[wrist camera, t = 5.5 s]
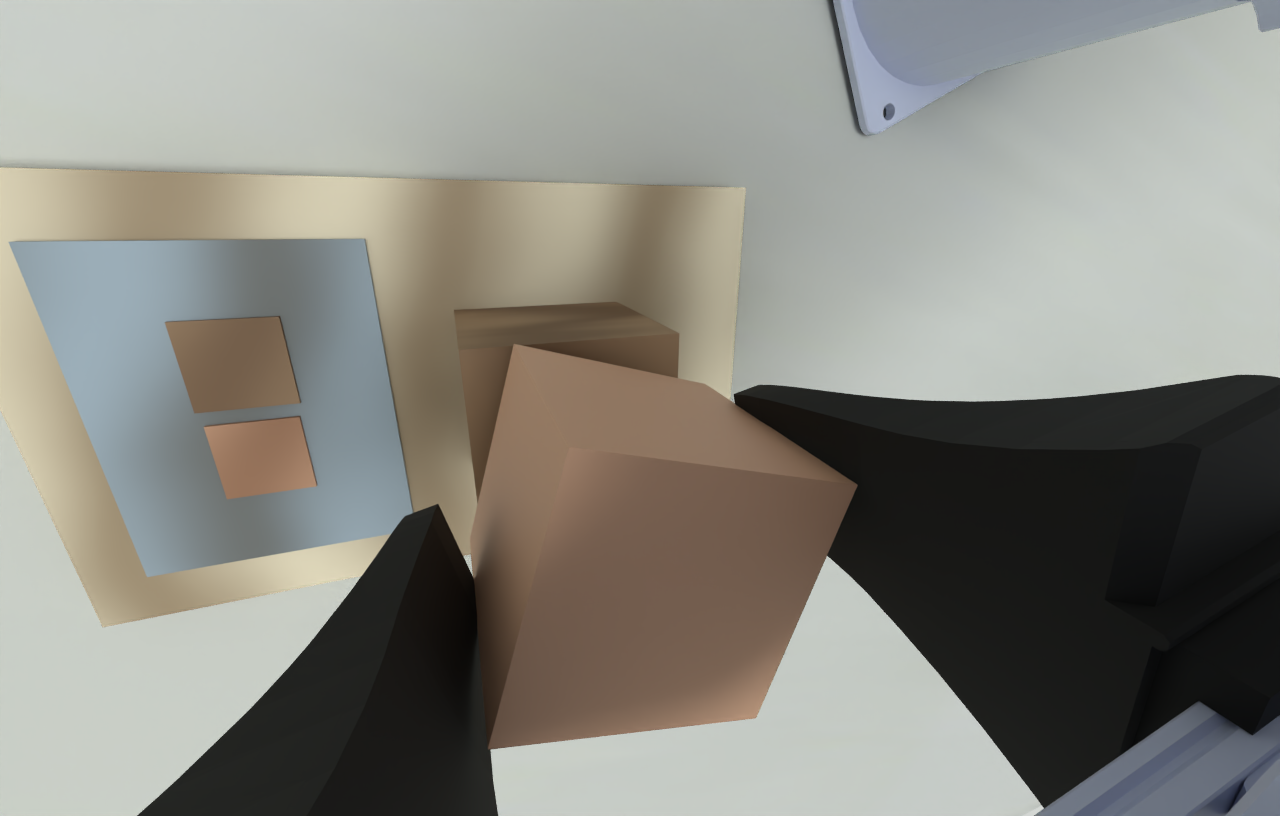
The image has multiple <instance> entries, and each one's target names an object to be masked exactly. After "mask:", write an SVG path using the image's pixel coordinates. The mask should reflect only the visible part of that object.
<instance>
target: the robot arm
mask: <svg viewBox="0 0 1280 816" xmlns="http://www.w3.org/2000/svg"><path fill="white" fill-rule="evenodd" d="M1248 2H1252V4H1253V6H1254V9H1255V12H1256V15H1257V21H1258V28H1259V30H1260V31H1261V32H1265V31H1269V30H1274V29H1278V28H1280V0H833V3H834V8H835V13H836V17H837V22H838V27H839V31H840V36H841V41H842V45H843V50H844V55H845V59H846V64H847V69H848V74H849V78H850V83H851V88H852V92H853V97H854V102H855V106H856V111H857V116H858V120H859V125H860V128H861V131H862V132H863V133H864V134H865V135H875V134H878V133H881V132H882V131H884V130H886V129H887V128H889V127H891V126H893V125H894V124H896V123H898V122H899V121H901V120H903V119H904V118H906V117H908V116H910V115H911V114H913V113H915V112H916V111H918V110H920V109H921V108H923V107H925V106H927V105H928V104H930V103H932V102H933V101H935V100H937V99H938V98H940V97H942V96H944V95H945V94H947V93H949V92H950V91H952V90H954V89H955V88H957V87H959V86H961V85H962V84H964V83H966V82H967V81H969V80H971V79H972V78H974V77H976V76H978V75H979V74H981V73H983V72H985V71H989V70H993V69H997V68H1001V67H1004V66H1008V65H1012V64H1016V63H1020V62H1023V61H1027V60H1031V59H1035V58H1039V57H1043V56H1046V55H1050V54H1054V53H1058V52H1062V51H1065V50H1069V49H1073V48H1077V47H1081V46H1084V45H1088V44H1092V43H1096V42H1100V41H1103V40H1107V39H1111V38H1115V37H1119V36H1122V35H1126V34H1130V33H1134V32H1138V31H1141V30H1145V29H1149V28H1153V27H1157V26H1160V25H1164V24H1168V23H1172V22H1176V21H1179V20H1183V19H1187V18H1191V17H1195V16H1198V15H1202V14H1206V13H1210V12H1214V11H1217V10H1221V9H1225V8H1229V7H1233V6H1237V5H1240V4H1244V3H1248ZM884 107H885V108H886V117H885V118H884V116H883V110H884ZM734 399H735V405H737V406H738V407H740V408H741V409H743V410H744V411H746V412H747V413H749V414H750V415H752V416H753V417H755V418H756V419H758V420H759V421H761V422H763V423H764V424H766V425H768V426H769V427H771V428H772V429H774V430H775V431H777V432H779V433H780V434H782V435H783V436H785V437H786V438H788V439H789V440H791V441H792V442H794V443H795V444H797V445H798V446H800V447H801V448H803V449H804V450H806V451H807V452H809V453H810V454H812V455H813V456H815V457H816V458H818V459H819V460H821V461H822V462H824V463H825V464H827V465H828V466H830V467H831V468H833V469H834V470H836V471H837V472H839V473H840V474H842V475H843V476H845V477H846V478H848V479H849V480H851V481H852V482H854V483H855V484H857V485H858V486H857V488H856V490H855V492H854V495H853V497H852V499H851V502H850V504H849V506H848V508H847V511H846V513H845V515H844V518H843V520H842V522H841V524H840V527H839V529H838V531H837V534H836V536H835V538H834V541H833V543H832V545H831V547H830V550H829V552H828V554H827V556H828V557H829V558H831V559H832V560H833V561H834V562H835V563H836V564H837V565H838V566H840V567H841V568H842V569H843V570H844V571H845V572H846V573H847V574H848V575H850V576H851V577H852V578H853V579H854V580H855V581H856V582H857V583H858V584H859V585H860V586H861V587H862V588H863V589H864V590H865V591H866V592H867V593H868V594H869V595H870V596H871V598H872V599H873V600H874V601H875V602H876V603H877V604H878V605H879V606H880V607H881V608H882V610H883V611H884V612H885V613H886V614H887V615H888V616H889V617H890V618H891V619H892V621H893V622H894V623H895V624H896V625H897V626H898V627H899V628H900V629H901V630H902V632H903V633H904V634H905V635H906V636H907V637H908V639H909V640H910V641H911V642H912V643H913V644H914V646H915V647H916V648H917V649H918V650H919V651H920V652H921V654H922V655H923V656H924V657H925V658H926V659H927V661H928V662H929V663H930V664H931V665H932V666H933V668H934V669H935V670H936V671H937V672H938V673H939V674H940V676H941V677H942V678H943V679H944V681H945V682H946V683H947V684H948V686H949V687H950V688H951V689H952V690H953V692H954V693H955V694H956V695H957V697H958V698H959V699H960V700H961V702H962V703H963V704H964V705H965V706H966V708H967V709H968V710H969V711H970V713H971V714H972V715H973V716H974V717H975V719H976V720H977V721H978V722H979V724H980V725H981V726H982V727H983V729H984V730H985V731H986V732H987V734H988V735H989V736H990V738H991V739H992V740H993V742H994V743H995V744H996V745H997V747H998V748H999V749H1000V751H1001V752H1002V753H1003V755H1004V756H1005V757H1006V759H1007V760H1008V761H1009V762H1010V764H1011V765H1012V766H1013V768H1014V769H1015V770H1016V772H1017V773H1018V774H1019V775H1020V777H1021V778H1022V779H1023V781H1024V782H1025V783H1026V785H1027V786H1028V787H1029V789H1030V790H1031V791H1032V792H1033V794H1034V795H1035V797H1036V798H1037V799H1038V801H1039V802H1040V803H1041V805H1042V806H1043V807H1044V809H1043V810H1042V811H1040V812H1039V813H1037V814H1036V815H1034V816H1280V378H1278V377H1272V376H1263V375H1233V376H1227V377H1220V378H1214V379H1207V380H1201V381H1194V382H1188V383H1181V384H1175V385H1168V386H1162V387H1155V388H1149V389H1142V390H1134V391H1126V392H1116V393H1107V394H1097V395H1088V396H1078V397H1065V398H1053V399H1037V400H1014V401H983V402H964V401H923V400H906V399H894V398H882V397H871V396H862V395H853V394H844V393H836V392H828V391H821V390H813V389H805V388H797V387H788V386H777V385H757V386H755V387H752V388H749V389H747V390H744V391H741V392H738V393H736V394H734ZM137 816H498V812H497V805H496V798H495V791H494V784H493V775H492V764H491V752H490V749H489V750H488V747H487V735H486V723H485V712H484V700H483V688H482V676H481V665H480V653H479V641H478V629H477V609H476V597H475V586H474V578H473V576H472V574H471V572H470V570H469V568H468V566H467V563H466V561H465V559H464V557H463V555H462V553H461V551H460V549H459V547H458V544H457V542H456V540H455V538H454V536H453V534H452V532H451V530H450V527H449V525H448V523H447V521H446V519H445V517H444V515H443V513H442V510H441V508H440V506H439V504H436V505H433V506H431V507H428V508H425V509H422V510H420V511H417V512H414V513H412V514H409V515H406V516H404V518H403V519H402V520H401V521H400V523H399V524H398V525H397V527H396V528H395V529H394V531H393V532H392V534H391V535H390V536H389V538H388V539H387V541H386V542H385V544H384V545H383V547H382V548H381V549H380V551H379V552H378V554H377V555H376V557H375V558H374V559H373V561H372V562H371V564H370V565H369V566H368V568H367V569H366V571H365V572H364V574H363V575H362V576H361V578H360V579H359V581H358V582H357V583H356V585H355V586H354V588H353V589H352V590H351V592H350V593H349V594H348V595H347V597H346V598H345V599H344V601H343V602H342V603H341V604H340V606H339V607H338V608H337V609H336V611H335V612H334V613H333V615H332V616H331V617H330V618H329V620H328V621H327V622H326V624H325V625H324V626H323V627H322V629H321V630H320V631H319V632H318V634H317V635H316V636H315V638H314V639H313V640H312V641H311V642H310V644H309V645H308V646H307V647H306V648H305V650H304V651H303V652H302V653H301V654H300V655H299V656H298V658H297V659H296V660H295V661H294V662H293V663H292V664H291V666H290V667H289V668H288V669H287V670H286V671H285V672H284V673H283V674H282V676H281V677H280V678H279V679H278V680H277V681H276V682H275V683H274V684H273V685H272V686H271V687H270V688H269V690H268V691H267V692H266V693H265V694H264V695H263V696H262V697H261V698H260V699H259V700H258V701H257V702H256V703H255V704H254V706H253V707H252V708H251V709H250V710H249V711H248V712H247V713H246V714H245V715H244V716H243V717H242V718H241V719H240V720H239V721H238V722H236V723H235V724H234V725H233V726H232V727H231V728H230V729H229V730H228V731H227V732H226V733H225V734H224V735H223V736H222V737H221V738H220V739H219V740H218V741H217V742H216V743H215V744H214V745H213V746H212V747H211V748H210V749H209V750H207V751H206V752H205V753H204V754H203V755H202V756H201V757H200V758H199V759H198V760H197V761H196V762H195V763H194V764H193V765H192V766H191V767H190V768H189V769H188V770H187V771H186V772H185V773H184V774H183V775H182V776H181V777H180V778H179V779H177V780H176V781H175V782H174V783H173V784H172V785H171V786H170V787H169V788H168V789H167V790H165V791H164V792H163V793H162V794H161V795H160V796H159V797H158V798H157V799H155V800H154V801H153V802H152V803H151V804H150V805H149V806H148V807H146V808H145V809H144V810H143V811H142V812H141V813H140V814H139V815H137Z"/></svg>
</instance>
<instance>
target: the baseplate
mask: <svg viewBox="0 0 1280 816" xmlns="http://www.w3.org/2000/svg"><path fill="white" fill-rule="evenodd" d="M745 194H746V188H737V187H700V186H663V185H627V184H590V183H553V182H516V181H480V180H443V179H406V178H370V177H333V176H296V175H260V174H223V173H186V172H150V171H113V170H76V169H40V168H3V167H0V410H1V412H2V415H3V417H4V419H5V421H6V423H7V425H8V427H9V429H10V432H11V434H12V436H13V438H14V440H15V442H16V444H17V446H18V448H19V451H20V453H21V455H22V457H23V459H24V461H25V463H26V465H27V468H28V470H29V472H30V474H31V476H32V478H33V480H34V482H35V485H36V487H37V489H38V491H39V493H40V495H41V497H42V499H43V501H44V504H45V506H46V508H47V510H48V512H49V514H50V516H51V518H52V521H53V523H54V525H55V527H56V529H57V531H58V533H59V535H60V538H61V540H62V542H63V544H64V546H65V548H66V550H67V552H68V554H69V557H70V559H71V561H72V563H73V565H74V567H75V569H76V571H77V574H78V576H79V578H80V580H81V582H82V584H83V586H84V588H85V591H86V593H87V595H88V597H89V599H90V601H91V603H92V605H93V607H94V610H95V612H96V614H97V616H98V618H99V620H100V622H101V624H102V627H107V626H112V625H117V624H122V623H127V622H132V621H137V620H142V619H147V618H152V617H157V616H162V615H167V614H172V613H177V612H182V611H187V610H192V609H197V608H202V607H207V606H212V605H218V604H223V603H228V602H233V601H238V600H243V599H248V598H253V597H258V596H263V595H268V594H273V593H278V592H283V591H288V590H293V589H298V588H303V587H308V586H313V585H318V584H323V583H328V582H333V581H338V580H343V579H348V578H353V577H358V576H362V575H363V574H364V572H365V571H366V569H367V568H368V566H369V565H370V564H371V562H372V561H373V559H374V558H375V557H376V555H377V554H378V552H379V551H380V549H381V548H382V547H383V545H384V544H385V542H386V541H387V539H388V538H389V536H390V535H391V534H392V532H393V531H394V529H395V528H396V527H397V525H398V524H399V523H400V521H401V520H402V519H403V518H404V516H406V515H409V514H412V513H414V512H417V511H420V510H422V509H425V508H428V507H431V506H433V505H436V504H439V506H440V508H441V510H442V513H443V515H444V517H445V519H446V521H447V523H448V525H449V527H450V530H451V532H452V534H453V536H454V538H455V540H456V542H457V544H458V547H459V549H460V551H461V553H462V555H463V556H464V555H469V554H471V547H470V536H471V531H472V527H473V522H474V518H475V513H476V509H477V505H478V500H479V496H480V491H481V487H482V482H483V478H484V474H485V469H486V465H487V460H488V456H489V451H490V447H491V443H492V438H493V434H494V429H495V425H496V420H497V416H498V412H499V407H500V403H501V398H502V394H503V389H504V385H505V381H506V376H507V372H508V367H509V363H510V358H511V354H512V350H513V345H514V344H517V345H522V346H527V347H532V348H536V349H541V350H546V351H551V352H555V353H560V354H565V355H570V356H575V357H579V358H584V359H589V360H594V361H598V362H603V363H608V364H613V365H617V366H622V367H627V368H632V369H636V370H641V371H646V372H651V373H655V374H660V375H665V376H670V377H675V378H679V379H684V380H689V381H694V382H698V383H703V384H706V385H708V386H709V387H711V388H712V389H714V390H715V391H717V392H718V393H720V394H721V395H723V396H724V397H726V398H727V399H729V400H730V398H731V384H732V370H733V357H734V343H735V330H736V316H737V303H738V289H739V275H740V262H741V248H742V235H743V221H744V208H745Z"/></svg>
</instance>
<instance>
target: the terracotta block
mask: <svg viewBox="0 0 1280 816" xmlns="http://www.w3.org/2000/svg"><path fill="white" fill-rule="evenodd" d="M857 486H858V485H857V484H855V483H854V482H852V481H851V480H849V479H848V478H846V477H845V476H843V475H842V474H840V473H839V472H837V471H836V470H834V469H833V468H831V467H830V466H828V465H827V464H825V463H824V462H822V461H821V460H819V459H818V458H816V457H815V456H813V455H812V454H810V453H809V452H807V451H806V450H804V449H803V448H801V447H800V446H798V445H797V444H795V443H794V442H792V441H791V440H789V439H788V438H786V437H785V436H783V435H782V434H780V433H779V432H777V431H775V430H774V429H772V428H771V427H769V426H768V425H766V424H764V423H763V422H761V421H759V420H758V419H756V418H755V417H753V416H752V415H750V414H749V413H747V412H746V411H744V410H743V409H741V408H740V407H738V406H737V405H735V403H733V402H732V401H730V400H729V399H727V398H726V397H724V396H723V395H721V394H720V393H718V392H717V391H715V390H714V389H712V388H711V387H709V386H708V385H706V384H703V383H698V382H694V381H689V380H684V379H679V378H675V377H670V376H665V375H660V374H655V373H651V372H646V371H641V370H636V369H632V368H627V367H622V366H617V365H613V364H608V363H603V362H598V361H594V360H589V359H584V358H579V357H575V356H570V355H565V354H560V353H555V352H551V351H546V350H541V349H536V348H532V347H527V346H522V345H517V344H514V345H513V350H512V354H511V358H510V363H509V367H508V372H507V376H506V381H505V385H504V389H503V394H502V398H501V403H500V407H499V412H498V416H497V420H496V425H495V429H494V434H493V438H492V443H491V447H490V451H489V456H488V460H487V465H486V469H485V474H484V478H483V482H482V487H481V491H480V496H479V500H478V505H477V509H476V513H475V518H474V522H473V527H472V531H471V536H470V547H471V559H472V571H473V578H474V586H475V597H476V609H477V629H478V641H479V653H480V665H481V676H482V688H483V700H484V712H485V723H486V735H487V747H488V750H489V749H497V748H506V747H514V746H523V745H531V744H540V743H548V742H557V741H565V740H574V739H582V738H591V737H600V736H608V735H617V734H625V733H634V732H642V731H651V730H659V729H668V728H676V727H685V726H693V725H702V724H710V723H719V722H728V721H736V720H745V719H753V718H756V717H757V714H758V712H759V710H760V708H761V705H762V703H763V701H764V698H765V696H766V694H767V692H768V689H769V687H770V685H771V682H772V680H773V678H774V676H775V673H776V671H777V669H778V666H779V664H780V662H781V660H782V657H783V655H784V653H785V650H786V648H787V646H788V644H789V641H790V639H791V637H792V634H793V632H794V630H795V628H796V625H797V623H798V621H799V618H800V616H801V614H802V611H803V609H804V607H805V605H806V602H807V600H808V598H809V595H810V593H811V591H812V589H813V586H814V584H815V582H816V579H817V577H818V575H819V573H820V570H821V568H822V566H823V563H824V561H825V559H826V557H827V554H828V552H829V550H830V547H831V545H832V543H833V541H834V538H835V536H836V534H837V531H838V529H839V527H840V524H841V522H842V520H843V518H844V515H845V513H846V511H847V508H848V506H849V504H850V502H851V499H852V497H853V495H854V492H855V490H856V488H857Z"/></svg>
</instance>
